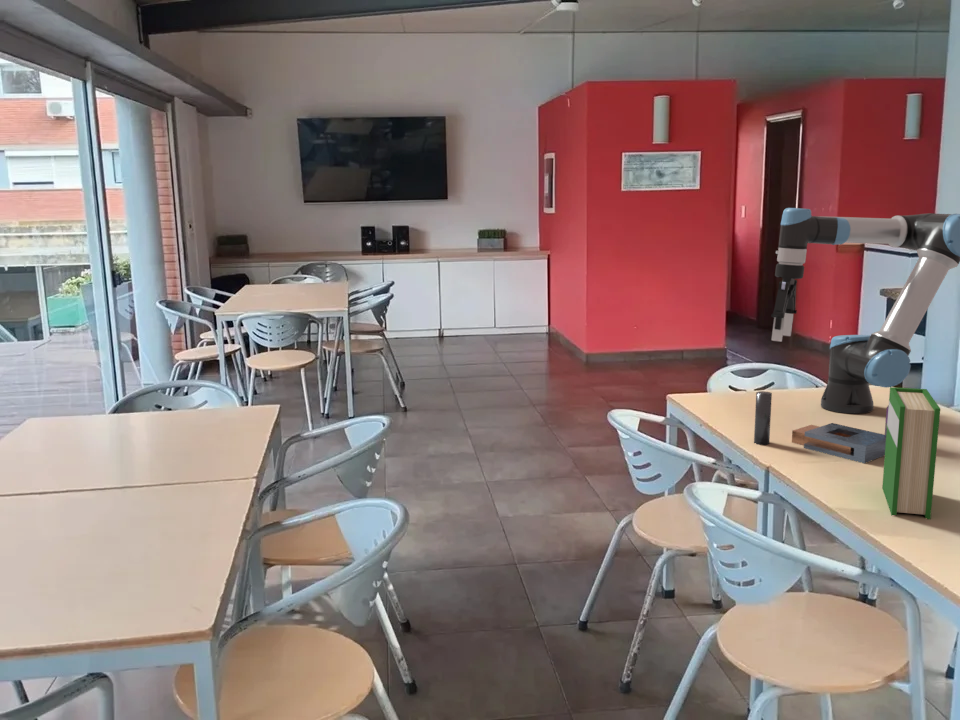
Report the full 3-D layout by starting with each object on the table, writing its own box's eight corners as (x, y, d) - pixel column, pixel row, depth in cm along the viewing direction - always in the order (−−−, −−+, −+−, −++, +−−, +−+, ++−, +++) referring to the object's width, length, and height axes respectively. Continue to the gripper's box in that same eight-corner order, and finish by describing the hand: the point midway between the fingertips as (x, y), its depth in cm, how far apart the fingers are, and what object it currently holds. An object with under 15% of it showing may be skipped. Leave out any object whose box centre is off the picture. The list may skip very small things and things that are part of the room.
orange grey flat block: (787, 443, 231) (788, 427, 230) (814, 434, 239) (815, 419, 238) (864, 463, 214) (865, 446, 213) (891, 453, 221) (892, 436, 220)
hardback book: (930, 519, 178) (940, 408, 173) (891, 515, 181) (900, 406, 176) (917, 490, 194) (926, 389, 190) (882, 487, 197) (890, 387, 192)
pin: (759, 439, 235) (762, 390, 232) (772, 442, 232) (774, 393, 229) (750, 442, 233) (753, 392, 230) (763, 445, 230) (765, 395, 227)
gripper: (784, 261, 251) (776, 331, 255) (767, 264, 229) (758, 341, 233) (811, 263, 247) (802, 335, 251) (796, 266, 226) (786, 345, 230)
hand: (781, 338), depth 242 cm, fingers open, 13 cm apart
